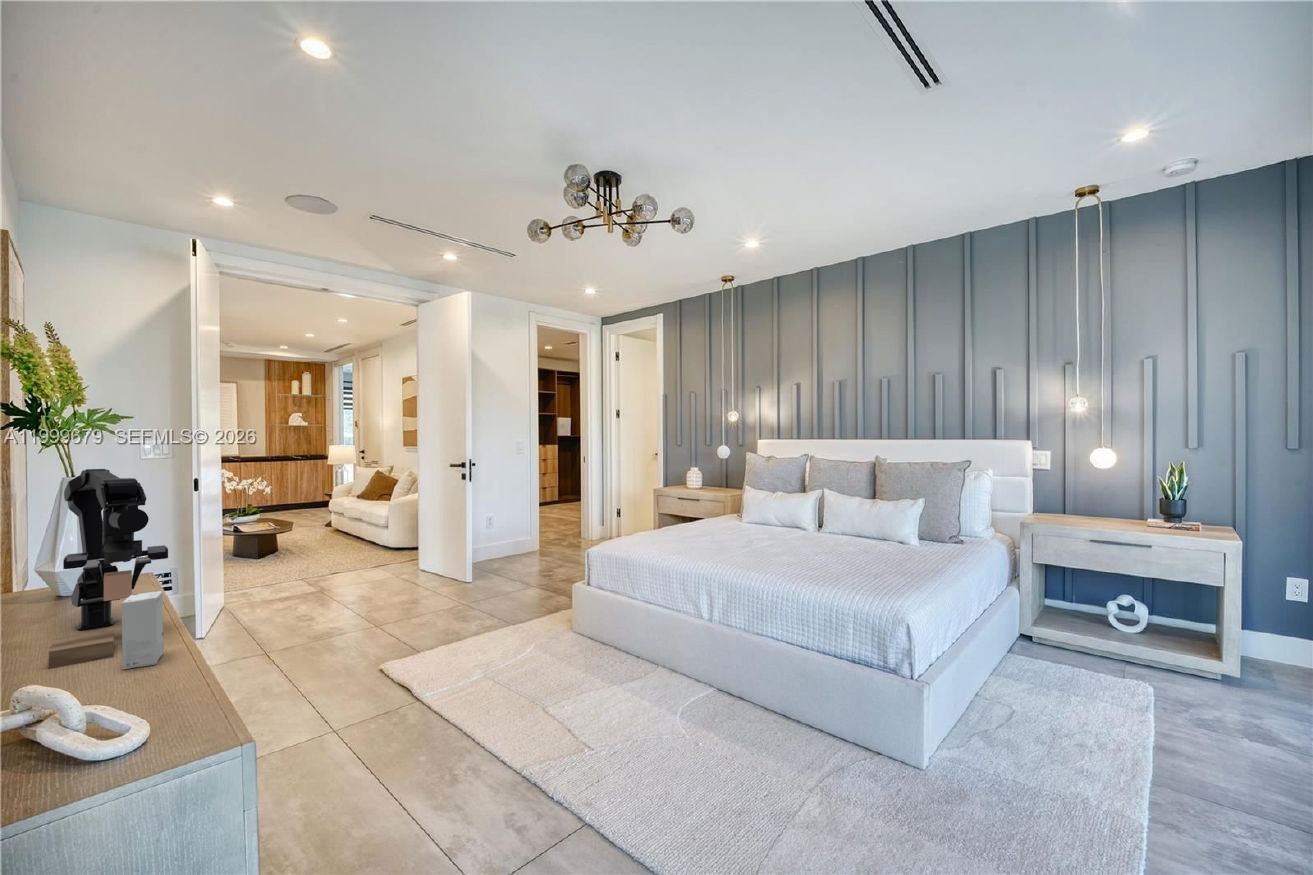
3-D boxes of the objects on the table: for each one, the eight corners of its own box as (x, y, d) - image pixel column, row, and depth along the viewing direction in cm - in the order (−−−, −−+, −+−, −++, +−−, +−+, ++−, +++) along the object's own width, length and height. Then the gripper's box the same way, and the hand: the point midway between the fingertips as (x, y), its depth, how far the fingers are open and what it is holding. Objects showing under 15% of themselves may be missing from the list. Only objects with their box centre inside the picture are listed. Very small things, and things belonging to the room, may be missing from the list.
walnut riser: (53, 656, 128) (54, 639, 128) (114, 646, 135) (114, 629, 135) (48, 670, 121) (48, 651, 121) (112, 658, 128) (113, 641, 128)
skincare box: (156, 665, 124) (157, 598, 124) (119, 671, 120) (120, 602, 120) (163, 652, 131) (164, 589, 131) (129, 658, 127) (130, 592, 127)
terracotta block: (104, 596, 140) (104, 573, 140) (131, 593, 144) (131, 569, 144) (103, 601, 137) (103, 576, 137) (131, 597, 140) (131, 573, 140)
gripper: (61, 537, 128) (60, 605, 128) (169, 528, 141) (169, 590, 141) (65, 531, 136) (64, 595, 136) (167, 523, 149) (166, 582, 149)
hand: (117, 591), depth 140 cm, fingers closed on terracotta block, 5 cm apart
